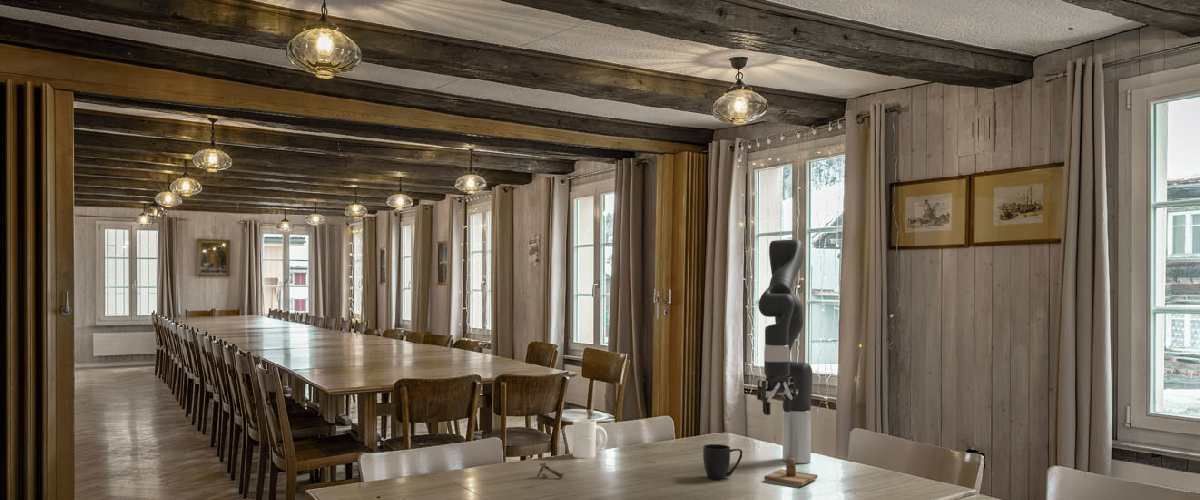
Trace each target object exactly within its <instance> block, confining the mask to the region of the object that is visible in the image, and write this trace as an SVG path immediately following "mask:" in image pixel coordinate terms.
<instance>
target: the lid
mask: <svg viewBox="0 0 1200 500" xmlns="http://www.w3.org/2000/svg"><path fill="white" fill-rule="evenodd" d="M785 462H786V464H785V467H786V469H782V468H780V469H778V470H776V471H773V472H771V473H768V474H766V475H764V477H763V478H764V481H766V480H771V481H777V482H783V483H789V484H795V485H801V486H800V487H802V486H804V485H806V484H808V483H810V482H813V481H815V480H817V479H818V474H815V473H809V472H801V471H797V468H796V467H797V463H796V459H795V458H786V461H785Z"/></svg>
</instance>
